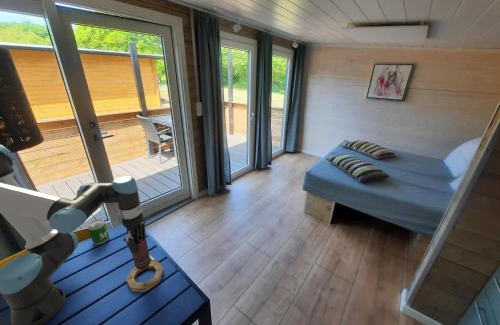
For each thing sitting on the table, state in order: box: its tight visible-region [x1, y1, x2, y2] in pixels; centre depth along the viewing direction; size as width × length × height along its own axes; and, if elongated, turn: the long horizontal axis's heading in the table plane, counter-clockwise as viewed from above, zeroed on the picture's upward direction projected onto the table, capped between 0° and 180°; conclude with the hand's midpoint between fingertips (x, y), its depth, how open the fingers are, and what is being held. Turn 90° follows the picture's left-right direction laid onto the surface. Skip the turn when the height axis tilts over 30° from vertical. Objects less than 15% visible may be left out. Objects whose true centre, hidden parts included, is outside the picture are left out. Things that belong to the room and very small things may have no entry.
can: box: [131, 236, 151, 270], centre depth 91 cm, size 6×6×14 cm
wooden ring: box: [126, 260, 164, 293], centre depth 96 cm, size 14×14×2 cm
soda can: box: [87, 219, 110, 245], centre depth 114 cm, size 8×8×12 cm
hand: (142, 258), depth 92 cm, fingers closed
